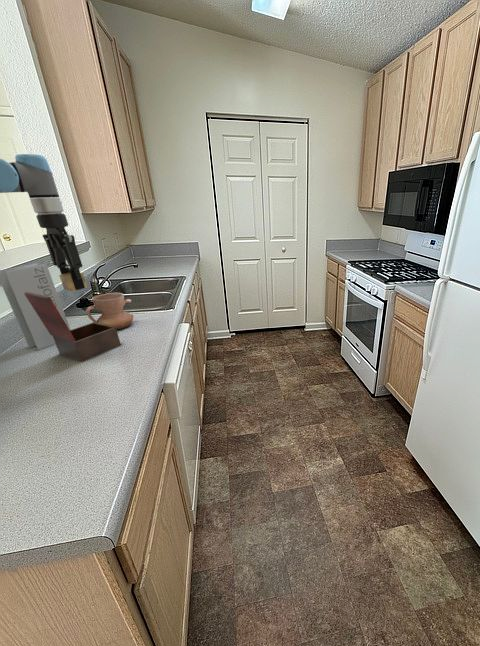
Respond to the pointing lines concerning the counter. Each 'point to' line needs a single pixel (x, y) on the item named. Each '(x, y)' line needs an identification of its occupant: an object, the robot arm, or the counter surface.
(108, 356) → the counter surface
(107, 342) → the book box
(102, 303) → the ceramic jug
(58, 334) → the cover
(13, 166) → the robot arm
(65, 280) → the block
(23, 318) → the white lettered carton
